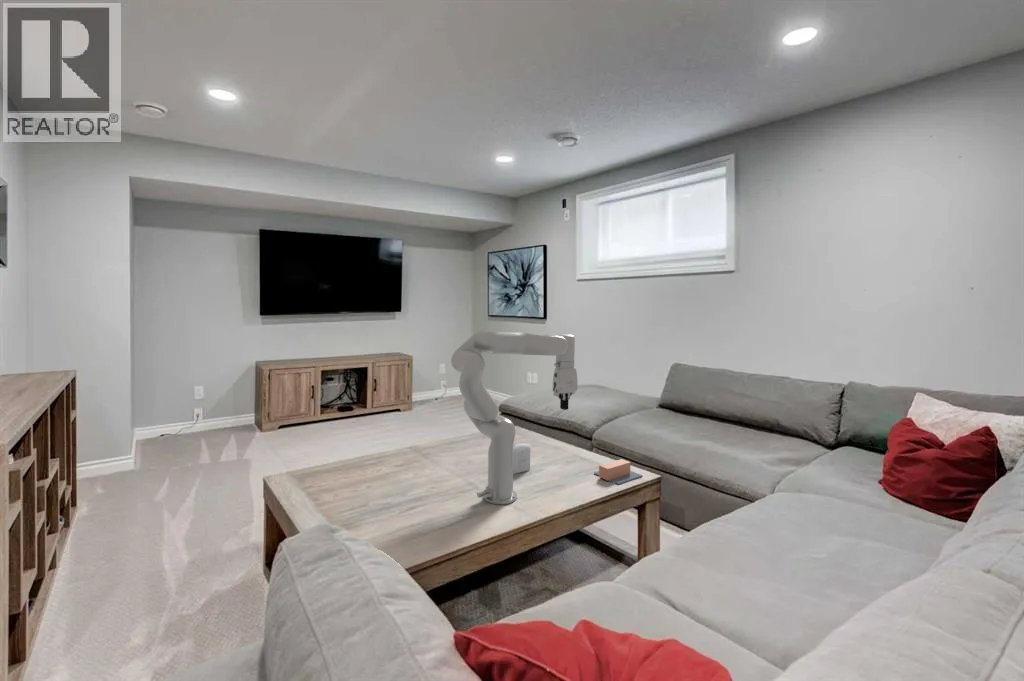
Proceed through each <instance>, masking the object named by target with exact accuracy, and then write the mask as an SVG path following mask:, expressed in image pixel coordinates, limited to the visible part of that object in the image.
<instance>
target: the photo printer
mask: <svg viewBox="0 0 1024 681" xmlns="http://www.w3.org/2000/svg"><path fill="white" fill-rule="evenodd" d="M530 470H531V447H530V444H528V443H522V442H521V443H516V444H514V445H513V475H514V474H515V475H516V474H519V473H523V472H528V471H530Z"/></svg>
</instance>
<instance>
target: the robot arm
mask: <svg viewBox="0 0 1024 681" xmlns="http://www.w3.org/2000/svg"><path fill="white" fill-rule="evenodd" d="M575 339H576V338H575V336H574V335H573V334H570V333H569V334H566V333H563V334H562V333H561V334H547V333H546V334H541V335H540V334H535V333H528V332H523V331H522V332H521V331H499V330H498V331H497V330H489V329H480V330H478V331H476V332H475V333H474V334H473V335H472V336H471V337H469V338H468V339H467V340H466V341H465V342H464V343H462V344H461V345H460V346H459V347H458V348H457V349H456V350H455V351H454V352H453V353H452V355H451V359H450V364H451V366H452V368H453V369H454V370H455V371H457V372H459V373H461V374H460V377H459V392H460V394H461V395H462V397H463V398H464V400H463V410H464V411H465V413H466V415H467V416H468V418H469V419H470V420H471V422H472V423H473V425H474V426H475V427H476V429H477V430H478V431H479V433H480V434H482V435H483V436H485V437H487V438H489V439H490V443H489V446H488V451H487V475H488V476H487V486H485V489H484V490H482V491H478V492H476V497H477V498H479V499H480V498H483V499H484V501H486V502H487V503H488V504H489V503H490V504H493V505H506V504H511V503H513V502H515V501H516V500H517V498H518V496H517V492H516V491H515V490H514V474H513V446H514V445H515V444H514V442H515V439H516V431H517V430H516V426H515V424H514V423H513V421H511V419H509V418H508V417H505V416H503V415H501V414H499V407H498V404H497V402H496V401H495V399H494V398H493V397H492V395H491V394H490V392H489V391H488V389H487V388H486V386H485V385H484V383H483V374H484V372H485V368H486V367H485V366H486V362H485V359H484V357H483V356H482V355H483V354H484V353H486V354H491V355H521V356H552V357H553V356H555V363H554V364H553V366H554V367H555V368H554V370H553V376H552V392H553V397H557V398H558V399H559V400H560V401H559V402H560V404H559V408H560V409H561V410H566V411H567V410H569V400H570V399H571V397H572V395H575V393H576V392H577V391H578V384H579V383H578V373H577V368H576V367H575V352H576V351H575V350H576V349H575V348H576V347H575V346H576V345H575V343H576V340H575Z"/></svg>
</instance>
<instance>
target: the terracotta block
mask: <svg viewBox="0 0 1024 681" xmlns="http://www.w3.org/2000/svg"><path fill="white" fill-rule="evenodd" d="M631 464H632V463H631V461H630V460H629V461H628V460H625V459H623V458H621V459H618V460H614V461H610V462H607V463H602V464H599V466H598V471H599V476H598V478H601V479H603V480H606V481H609V480H611V479H614V478H617V477H620V476H624V475H627V474H630V471H631Z"/></svg>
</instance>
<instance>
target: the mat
mask: <svg viewBox="0 0 1024 681" xmlns="http://www.w3.org/2000/svg"><path fill="white" fill-rule="evenodd" d="M593 474H594V475H595V476H597V477H599V470H598V471H595V472H593ZM639 478H643V475H642V474H640V473H637V472H635V471H632V470H630V474H627V475H624V476H620V477H617V478H614V479H611V480H608V481H609V482H611V483H613V482H614V484H616V485H618V484H619V485H622V484H624V483H625V484H626V483H628V482H631V481H633V480H637V479H639ZM621 483H622V484H621Z"/></svg>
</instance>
